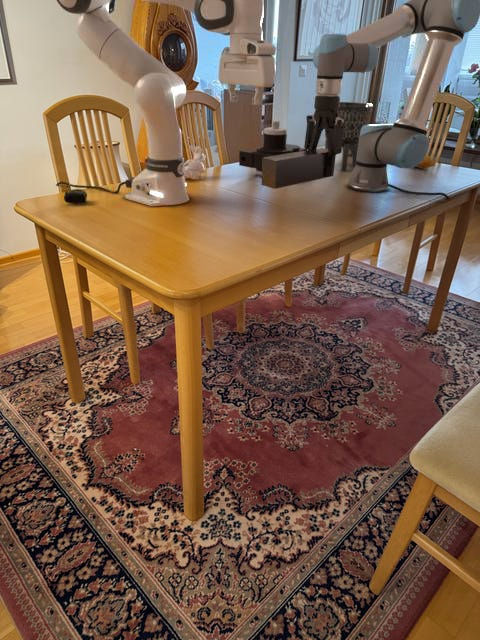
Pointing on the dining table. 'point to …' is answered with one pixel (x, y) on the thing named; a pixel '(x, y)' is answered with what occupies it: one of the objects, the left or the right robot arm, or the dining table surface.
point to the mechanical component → (268, 148)
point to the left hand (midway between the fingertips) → (244, 103)
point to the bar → (294, 168)
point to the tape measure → (75, 196)
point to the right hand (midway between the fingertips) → (319, 174)
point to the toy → (426, 162)
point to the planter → (352, 128)
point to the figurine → (194, 164)
